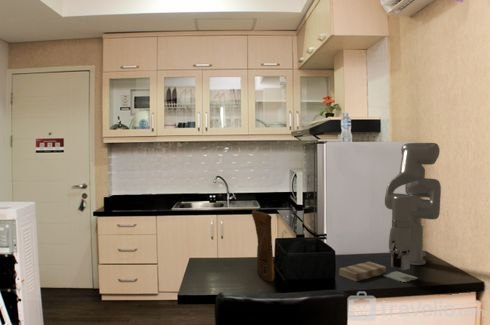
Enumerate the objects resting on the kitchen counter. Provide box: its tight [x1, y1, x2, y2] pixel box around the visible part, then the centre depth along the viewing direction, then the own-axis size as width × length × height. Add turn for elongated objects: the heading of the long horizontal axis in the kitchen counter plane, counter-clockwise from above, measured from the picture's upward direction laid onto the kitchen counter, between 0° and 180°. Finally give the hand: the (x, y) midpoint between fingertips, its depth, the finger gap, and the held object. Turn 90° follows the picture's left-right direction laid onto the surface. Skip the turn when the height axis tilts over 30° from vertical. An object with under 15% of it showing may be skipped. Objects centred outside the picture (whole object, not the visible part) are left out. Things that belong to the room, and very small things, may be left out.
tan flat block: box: [338, 261, 387, 282], centre depth 157 cm, size 20×9×3 cm, turn 123°
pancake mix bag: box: [251, 209, 275, 283], centre depth 154 cm, size 7×19×28 cm, turn 15°
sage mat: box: [382, 270, 419, 283], centre depth 154 cm, size 10×10×1 cm
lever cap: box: [390, 252, 411, 271], centre depth 154 cm, size 4×6×6 cm
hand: (400, 265), depth 154 cm, fingers closed on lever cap, 4 cm apart
